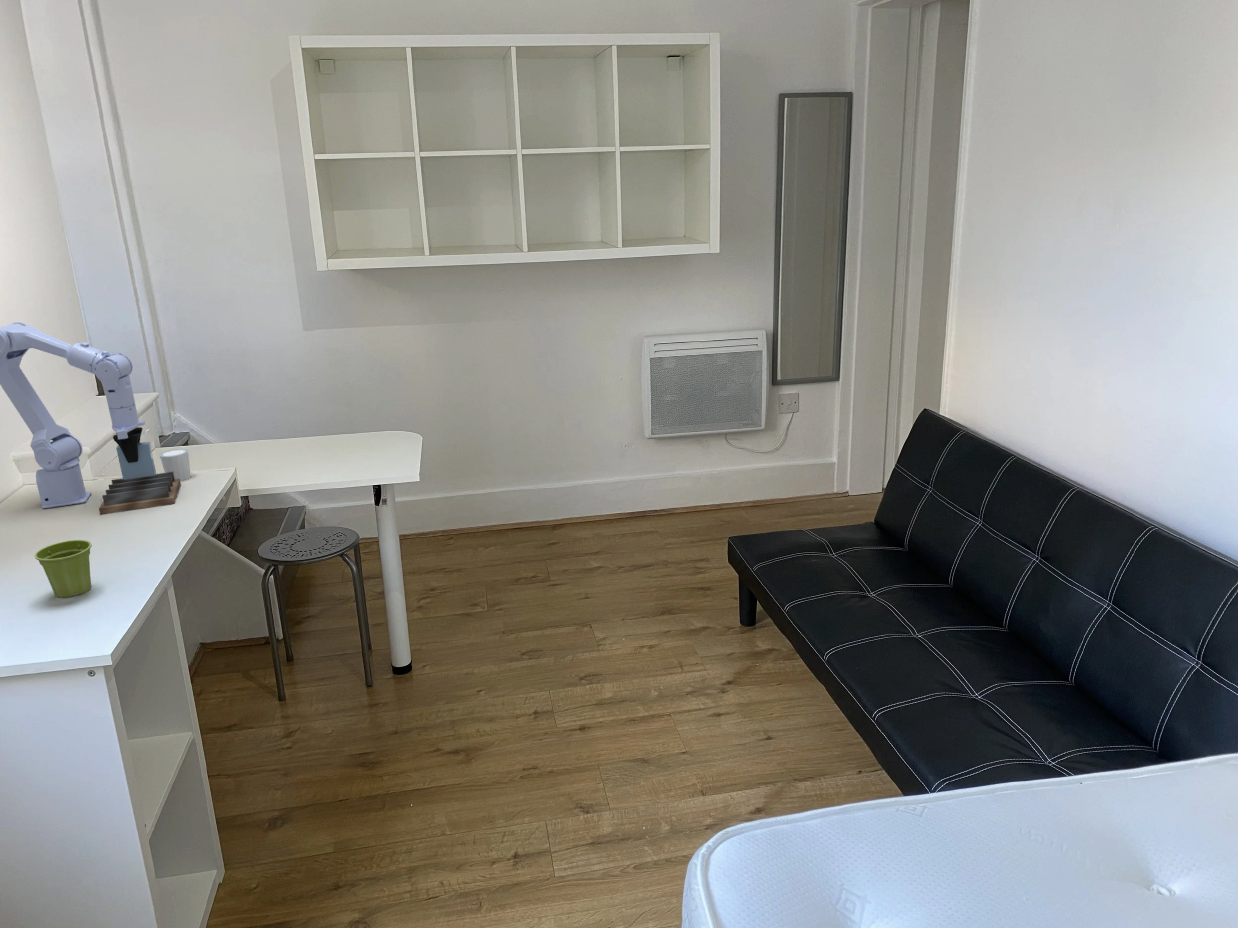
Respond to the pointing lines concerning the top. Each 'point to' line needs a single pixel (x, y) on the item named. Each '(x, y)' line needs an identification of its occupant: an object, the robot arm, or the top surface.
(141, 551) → the top surface
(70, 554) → the plant pot
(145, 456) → the block
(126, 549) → the top surface
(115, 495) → the rack
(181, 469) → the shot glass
